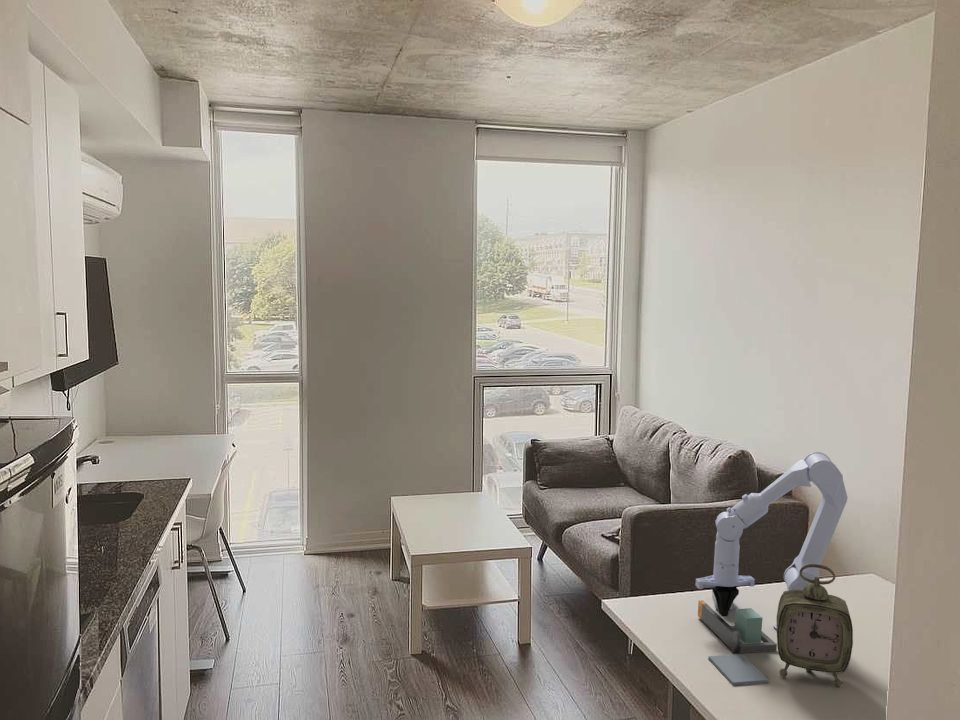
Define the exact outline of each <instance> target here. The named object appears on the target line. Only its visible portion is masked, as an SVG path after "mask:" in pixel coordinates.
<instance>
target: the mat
mask: <svg viewBox="0 0 960 720" xmlns="http://www.w3.org/2000/svg"><path fill="white" fill-rule="evenodd" d="M707 659H708V660H709V661H710V662H711V664H713V666H714V667H715V668H716V669H717V670H718V671H719V672H720V673H721V674H722V675H723V676H724V677H725V679H726V680H727V681H728V682H729V683H730V684H731V685H732V686H737V685H738V686H739V685H751V684H753V685H754V683H755V684H766V683H769V679H768V678H767V677H765V675H764V674H763V673H762V672H761V671H760V670H759V669H758V668H756V666H754V664H753V663H752V662H751V661H750V660H749V659H747V658H746V657H745V656H744V654H743V653H738V654H736V653H732V654H724V655H723V654H722V655H721V654H720V655H708V657H707Z"/></svg>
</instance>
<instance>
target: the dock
mask: <svg viewBox="0 0 960 720" xmlns="http://www.w3.org/2000/svg"><path fill="white" fill-rule="evenodd" d="M730 626H731V627H732V628H733V629H734V628H735V625H730ZM761 641H763V642H764V643H749V644H742V643H741V642H740V645H739V654H743V653H744V654H747V652H748V653H761V652H771V651H772V652H773V651H775V652H777V650H778V646H777V643H776V642H775V641H774V640H773V639H772V638H771V637H769V636H768V635H767V634H766V633H765V632H764V631H762V633H761Z"/></svg>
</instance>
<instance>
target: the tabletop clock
mask: <svg viewBox="0 0 960 720" xmlns="http://www.w3.org/2000/svg"><path fill="white" fill-rule="evenodd" d="M809 567H816V568H820V569H822V570H826V571H828V572H829V573H830V574H831V575H832V579H829V580H821V579H820V577H819V578H818V577H815V578H814V580H810V579H808V578H805V577H804V576H803V575H802V571H803V570H804V569H806V568H809ZM799 573H800V576H801V577H802V578H803V579H804V580H805V581H807V582H810V583H813V584H809V585H807V586H806V587H805V588H804V590H788V591H785V590H784V591H783V593H782V594H781V596H780V598H779V601H778V605H777V612H776V625H777V630H776V642H777V643H776V644H777V652H778V656H779V658H780V661H782V662H783V663H785V666H784V668H780V670H779V674H780V675H779V676H782V677H784V678H785V677H787V676H788V669H789V667H790V666H793V667H796V668H799V669H800V668H801V669H804V670H806V671H807V672H811V671H813V672H821V673H830V674H832V676H833V677H834V681H833V684H834V686H835V687H837V688H839V687H842V686H843V681H842V680H841V679H840V678H838V675H837V674H839V673H840V674H841V673H844V672H846V670H847V668H848V667H849V664H850V662H851V661H850V660H851V656H852V653H853V652H852V651H853V645H854V644H853V643H854V639H853V638H854V636H853V635H854V634H853V633H854V632H853V631H854V630H853V623H852V618H851V614H850V612H849V608H848V605H847V601H846V600H844V599H843V598H841V597H838V596H837V595H833V594H829V592H828V590H827V589H826V588H825V586H823V585H830V584H831V583H833V582H834V581H835V580H836V574H835V573H834V571H833V570H832V569H831V568H829V567H828V566H825V565H822V564H821V565H818V564H808V565H805V566H803V567H802V568H801V569H800V572H799Z"/></svg>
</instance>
